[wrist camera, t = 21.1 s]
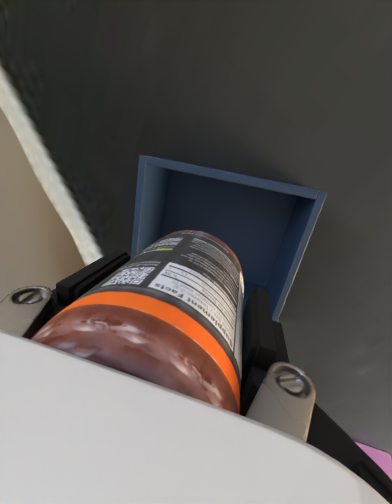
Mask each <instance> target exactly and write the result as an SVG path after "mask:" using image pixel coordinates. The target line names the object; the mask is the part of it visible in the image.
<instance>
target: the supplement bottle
mask: <svg viewBox="0 0 392 504" xmlns="http://www.w3.org/2000/svg"><path fill="white" fill-rule="evenodd" d="M243 301H244V285H243V274H242V270H241V266H240V263H239V261H238V259H237V257H236V256H235V254H234V253H233V251H232V250H231V249H230V248H229V247H228V246H227V245H226V244H225V243H224V242H222V241H221V240H220V239H218V238H216V237H215V236H213V235H210V234H208V233H205V232H202V231H194V230H184V231H177V232H173V233H171V234H169V235H166V236H165V237H162V238H160V239H159V240H157V241H156V242H154V243H153V244H152V245H150V246H149V247H148V248H146V249H145V250H143V251H142V252H141V253H139V254H138V255H136V256H135V257H134V258H132V259H131V260H130V261H129V262H127V263H126V264H124V265H123V266H121V267H120V268H119V269H117V270H116V271H115V272H113V273H112V274H111V275H109V276H108V277H107V278H105V279H104V280H103V281H101V282H100V283H99V284H97V285H96V286H94V287H93V288H92V289H90V290H89V291H88V292H86V293H85V294H84V295H82V296H81V297H79V298H78V299H77V300H76V301H74V302H73V303H72V304H71V305H69V306H68V307H66V308H65V309H63V310H62V311H61V312H60V313H58V314H57V315H56V316H54V317H53V318H52V319H50V320H49V321H48V322H47V323H46V324H45V325H44V326H43V327H42V328H41V329H40V330H39V331H38V332H37V333H36V334H35V335H34V336H33V337H32V338H31V339H30V340H33V341H35V342H38V343H41V344H44V345H47V346H50V347H53V348H56V349H58V350H61V351H64V352H67V353H70V354H73V355H76V356H78V357H81V358H84V359H87V360H90V361H92V362H95V363H98V364H101V365H104V366H107V367H109V368H112V369H115V370H118V371H121V372H123V373H126V374H129V375H132V376H135V377H137V378H140V379H143V380H146V381H149V382H151V383H154V384H157V385H160V386H162V387H165V388H168V389H171V390H173V391H176V392H179V393H182V394H184V395H187V396H190V397H193V398H196V399H198V400H201V401H204V402H207V403H209V404H212V405H215V406H218V407H220V408H223V409H225V410H228V411H231V412H233V413H236V414H239V412H240V390H241V378H242V336H243V313H244V311H243Z"/></svg>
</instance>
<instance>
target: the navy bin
mask: <svg viewBox="0 0 392 504" xmlns="http://www.w3.org/2000/svg"><path fill="white" fill-rule="evenodd" d="M326 196H327V193H326V192H322V191H319V190H315V189H311V188H307V187H303V186H298V185H293V184H288V183H283V182H278V181H273V180H268V179H263V178H258V177H253V176H248V175H243V174H238V173H234V172H229V171H224V170H219V169H214V168H209V167H204V166H199V165H194V164H189V163H184V162H179V161H174V160H169V159H163V158H157V157H151V156H145V155H139V166H138V177H137V189H136V201H135V213H134V224H133V236H132V248H131V259H132V258H134V257H135V256H136V255H138V254H139V253H141V252H142V251H143V250H145V249H146V248H148V247H149V246H150V245H152V244H153V243H154V242H156V241H157V240H159V239H160V238H162V237H165V236H166V235H169V234H171V233H173V232H177V231H184V230H194V231H202V232H205V233H208V234H210V235H213V236H215V237H216V238H218V239H220V240H221V241H222V242H224V243H225V244H226V245H227V246H228V247H229V248H230V249H231V250H232V251H233V253H234V254H235V256H236V257H237V259H238V261H239V263H240V266H241V270H242V274H243V285H244V301H243V311H244V309H245V306H246V303H247V299H248V296H249V293H250V290H251V289H252V290H255V289H256V288H260V289H263V290H267V291H268V293H269V300H270V307H271V313H272V320H273V321H278V318H279V316H280V313H281V311H282V308H283V306H284V303H285V300H286V298H287V295H288V293H289V290H290V288H291V285H292V283H293V280H294V277H295V275H296V272H297V270H298V267H299V265H300V262H301V260H302V257H303V254H304V252H305V249H306V247H307V244H308V242H309V239H310V236H311V234H312V231H313V229H314V226H315V224H316V221H317V219H318V216H319V213H320V211H321V208H322V206H323V203H324V201H325V198H326ZM131 259H130V260H131Z"/></svg>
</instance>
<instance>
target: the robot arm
mask: <svg viewBox="0 0 392 504" xmlns="http://www.w3.org/2000/svg"><path fill="white" fill-rule="evenodd" d="M129 261H130V256H128V253H127V252H123V251H120V250H114V251H112V252H111V253H109V254H107V255H105V256H104V257H102V258H100V259H98V260H97V261H95V262H93V263H91V264H90V265H88V266H86V267H84V268H83V269H81V270H79V271H78V272H76V273H74V274H72V275H70V276H69V277H67V278H65V279H63V280H62V281H60V282H58V283H57V284H56V289H54V290H51V289H50V288H47V287H44V286H27V287H23V288H19V289H17V290H15V291H13V292H11V293H10V294H8V295H7V296H6V297H5V298H4V299H3V300H2V301H1V302H0V504H392V480H391V479H390V477H389V476H388V475H387V474H386V473H385V472H384V471H383V470H382V468H380V467H379V466H378V465H377V464H376V463H375V462H374V461H373V460H372V459H371V458H370V457H369V456H368V455H367V454H366V453H365V452H364V451H363V450H362V449H361V448H360V447H359V446H358V445H357V444H356V443H355V442H354V441H353V440H352V439H351V438H350V437H349V436H348V435H347V434H346V433H345V432H344V431H343V430H342V429H341V428H340V427H339V426H338V425H337V424H336V423H335V422H334V421H333V420H332V419H331V418H330V417H329V416H328V415H327V414H326V413H325V412H324V411H323V410H322V409H321V408H320V407H319V406H318V405H317V404H316V403H315V402H314V401H315V396H316V389H315V386H314V384H313V382H312V381H311V379H310V378H309V376H308V375H307V374H306V373H305V372H304V371H302V370H301V369H300V368H298V367H297V366H295V365H292V364H290V363H289V359H288V354H287V349H286V345H285V340H284V335H283V330H282V325H281V323H280V322H277V321H273V320H272V313H271V307H270V300H269V293H268V291H267V290H263V289H260V288H256V289H255V290H252V289H251V290H250V293H249V296H248V299H247V303H246V306H245V309H244V313H243V336H242V378H241V390H240V412H239V414H236V413H233V412H231V411H228V410H225V409H223V408H220V407H218V406H215V405H212V404H209V403H207V402H204V401H201V400H198V399H196V398H193V397H190V396H187V395H184V394H182V393H179V392H176V391H173V390H171V389H168V388H165V387H162V386H160V385H157V384H154V383H151V382H149V381H146V380H143V379H140V378H137V377H135V376H132V375H129V374H126V373H123V372H121V371H118V370H115V369H112V368H109V367H107V366H104V365H101V364H98V363H95V362H92V361H90V360H87V359H84V358H81V357H78V356H76V355H73V354H70V353H67V352H64V351H61V350H58V349H56V348H53V347H50V346H47V345H44V344H41V343H38V342H35V341H33V340H30V339H31V338H32V337H33V336H34V335H35V334H36V333H37V332H38V331H39V330H40V329H41V328H42V327H43V326H44V325H45V324H46V323H47V322H48V321H49V320H50V319H52V318H53V317H54V316H56V315H57V314H58V313H60V312H61V311H62V310H63V309H65V308H66V307H68V306H69V305H71V304H72V303H73V302H74V301H76V300H77V299H78V298H79V297H81V296H82V295H84V294H85V293H86V292H88V291H89V290H90V289H92V288H93V287H94V286H96V285H97V284H99V283H100V282H101V281H103V280H104V279H105V278H107V277H108V276H109V275H111V274H112V273H113V272H115V271H116V270H117V269H119V268H120V267H121V266H123V265H124V264H126V263H127V262H129Z"/></svg>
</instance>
